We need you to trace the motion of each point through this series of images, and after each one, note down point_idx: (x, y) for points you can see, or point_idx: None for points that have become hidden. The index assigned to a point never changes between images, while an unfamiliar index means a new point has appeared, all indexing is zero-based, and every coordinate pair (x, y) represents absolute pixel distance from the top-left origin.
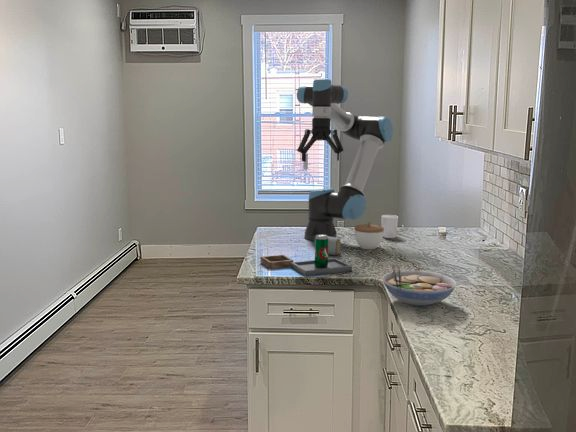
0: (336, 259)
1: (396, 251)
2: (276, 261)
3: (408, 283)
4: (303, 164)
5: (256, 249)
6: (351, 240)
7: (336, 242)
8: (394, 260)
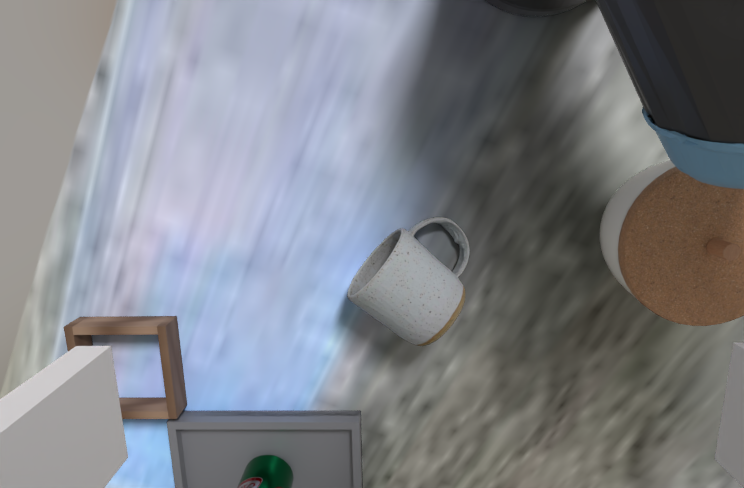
0: (353, 442)
1: (714, 332)
2: None
3: None
4: (8, 401)
5: (112, 80)
6: None
7: (420, 344)
8: (600, 451)
